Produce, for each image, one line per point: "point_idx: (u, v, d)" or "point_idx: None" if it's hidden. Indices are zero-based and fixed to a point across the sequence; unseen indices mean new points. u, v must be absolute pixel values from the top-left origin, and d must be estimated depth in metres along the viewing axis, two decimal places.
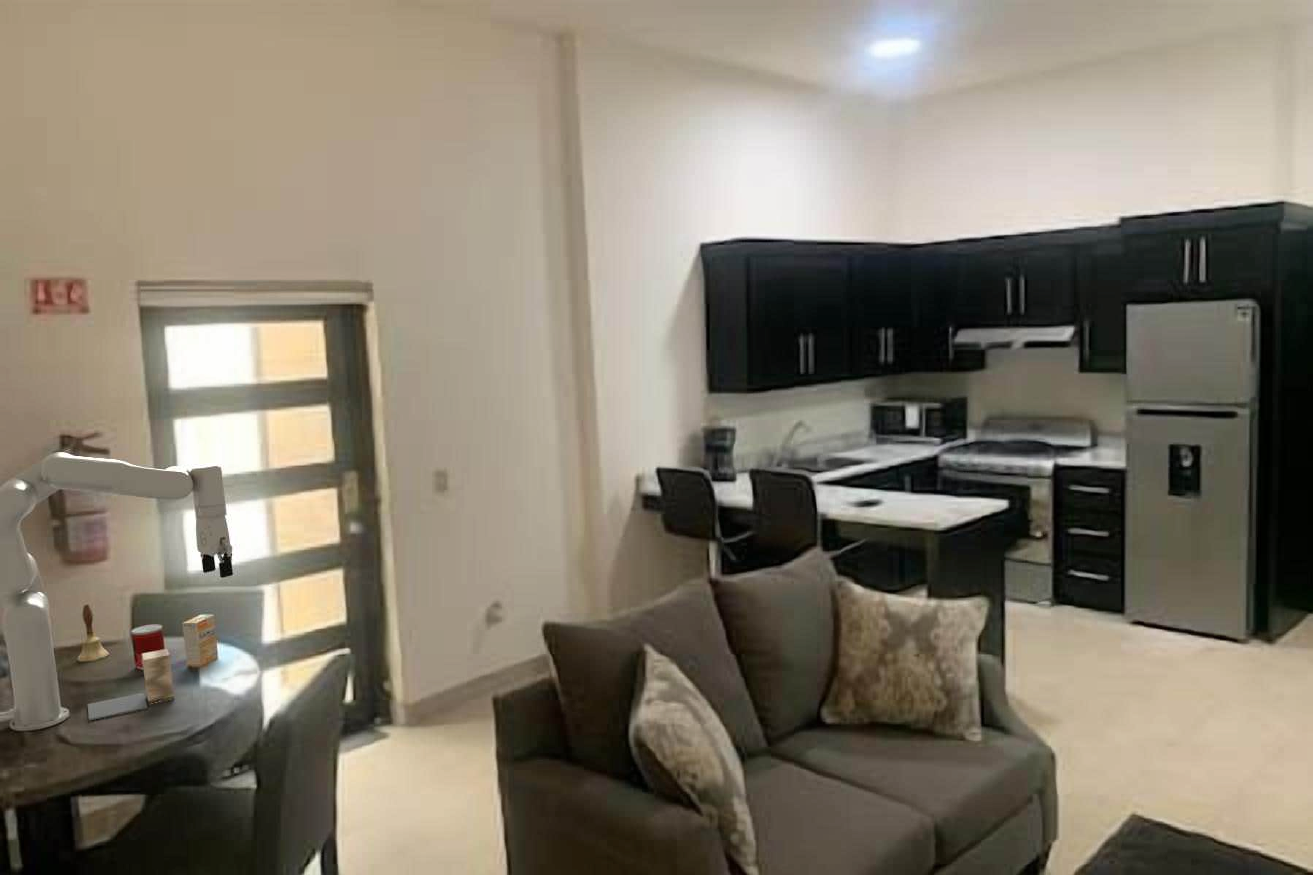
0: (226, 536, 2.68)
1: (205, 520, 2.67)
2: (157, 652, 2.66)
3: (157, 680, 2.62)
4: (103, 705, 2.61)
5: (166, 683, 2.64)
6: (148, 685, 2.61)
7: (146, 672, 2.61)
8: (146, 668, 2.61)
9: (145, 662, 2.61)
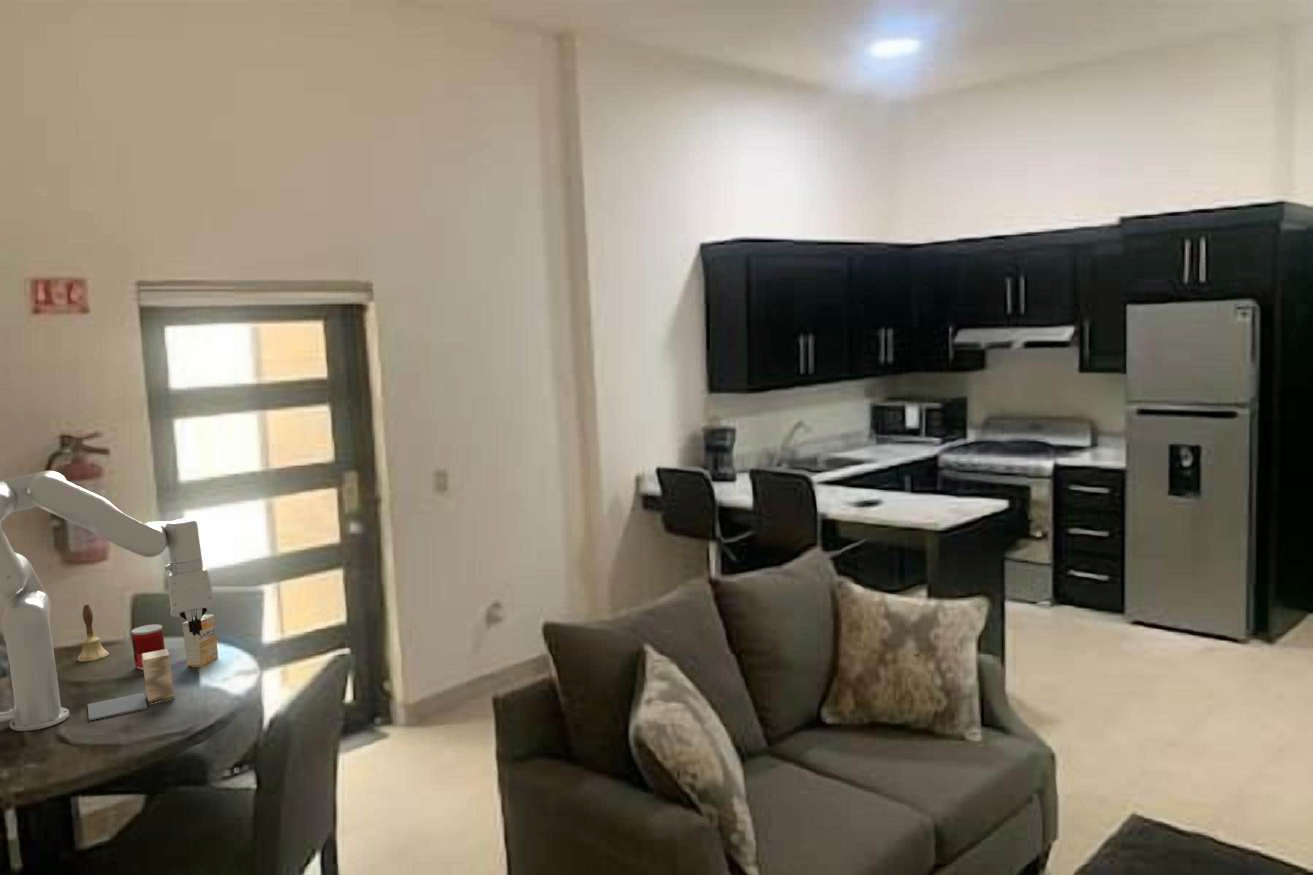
0: None
1: (197, 573, 2.65)
2: (157, 652, 2.66)
3: (157, 680, 2.62)
4: (103, 705, 2.61)
5: (166, 683, 2.64)
6: (148, 685, 2.61)
7: (146, 672, 2.61)
8: (146, 668, 2.61)
9: (145, 662, 2.61)
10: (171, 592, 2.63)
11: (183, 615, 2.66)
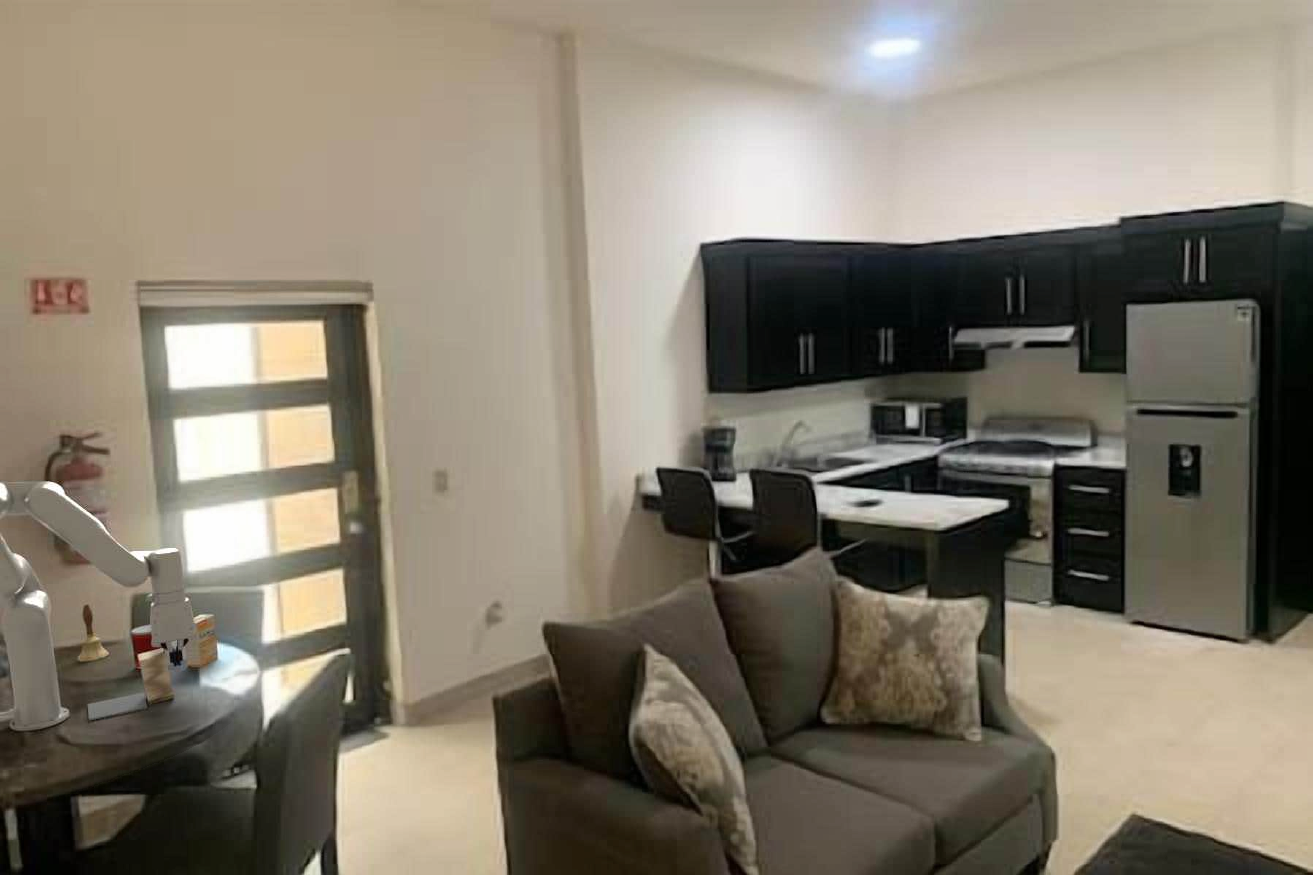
0: None
1: (179, 604, 2.64)
2: (153, 652, 2.65)
3: (155, 680, 2.62)
4: (103, 705, 2.61)
5: (164, 682, 2.63)
6: (146, 685, 2.61)
7: (143, 673, 2.61)
8: (143, 669, 2.60)
9: (141, 663, 2.60)
10: (152, 623, 2.61)
11: (164, 646, 2.65)
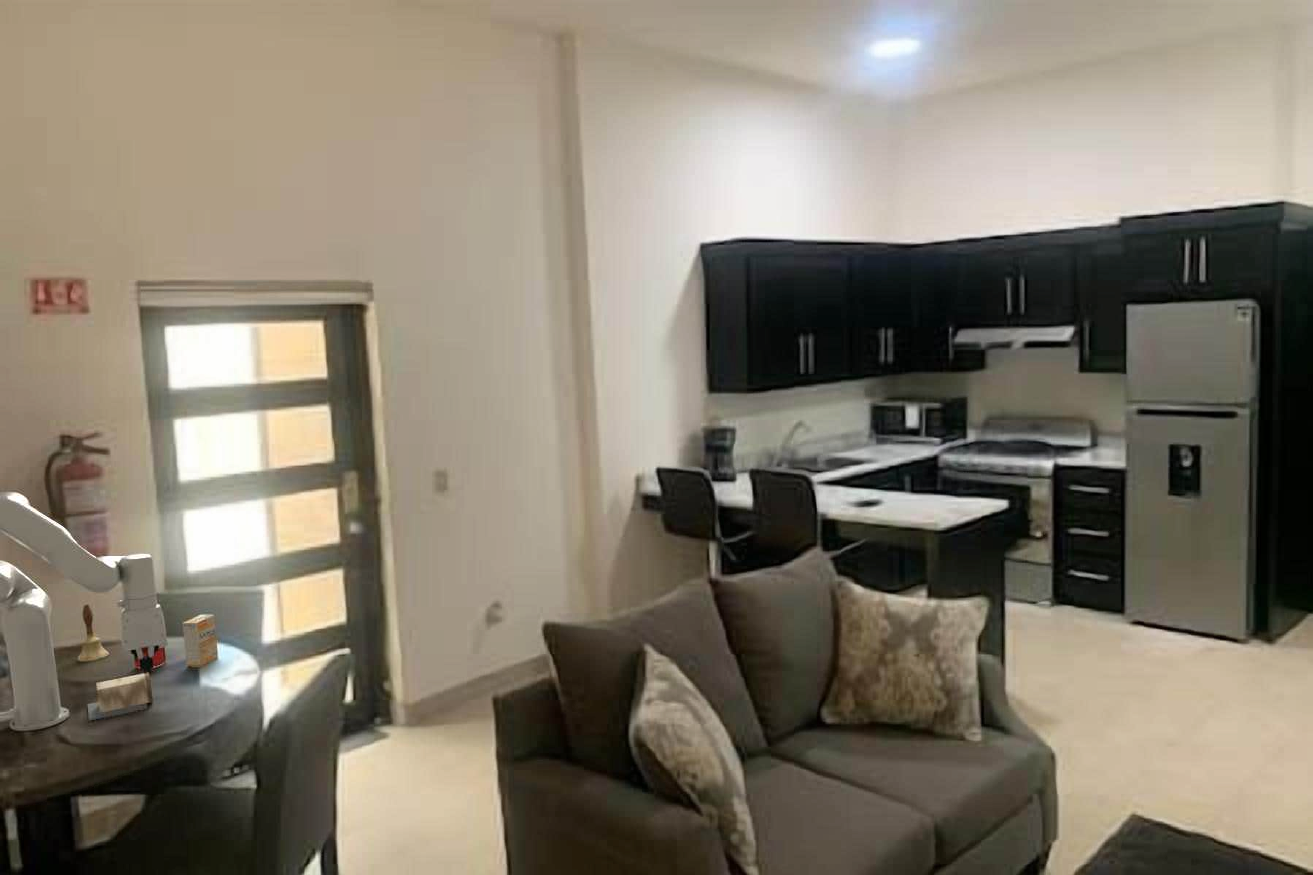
0: None
1: (150, 610, 2.61)
2: None
3: (125, 697, 2.59)
4: None
5: (130, 688, 2.59)
6: (130, 704, 2.60)
7: (115, 708, 2.58)
8: (110, 708, 2.57)
9: (103, 710, 2.57)
10: (122, 629, 2.58)
11: (134, 652, 2.61)
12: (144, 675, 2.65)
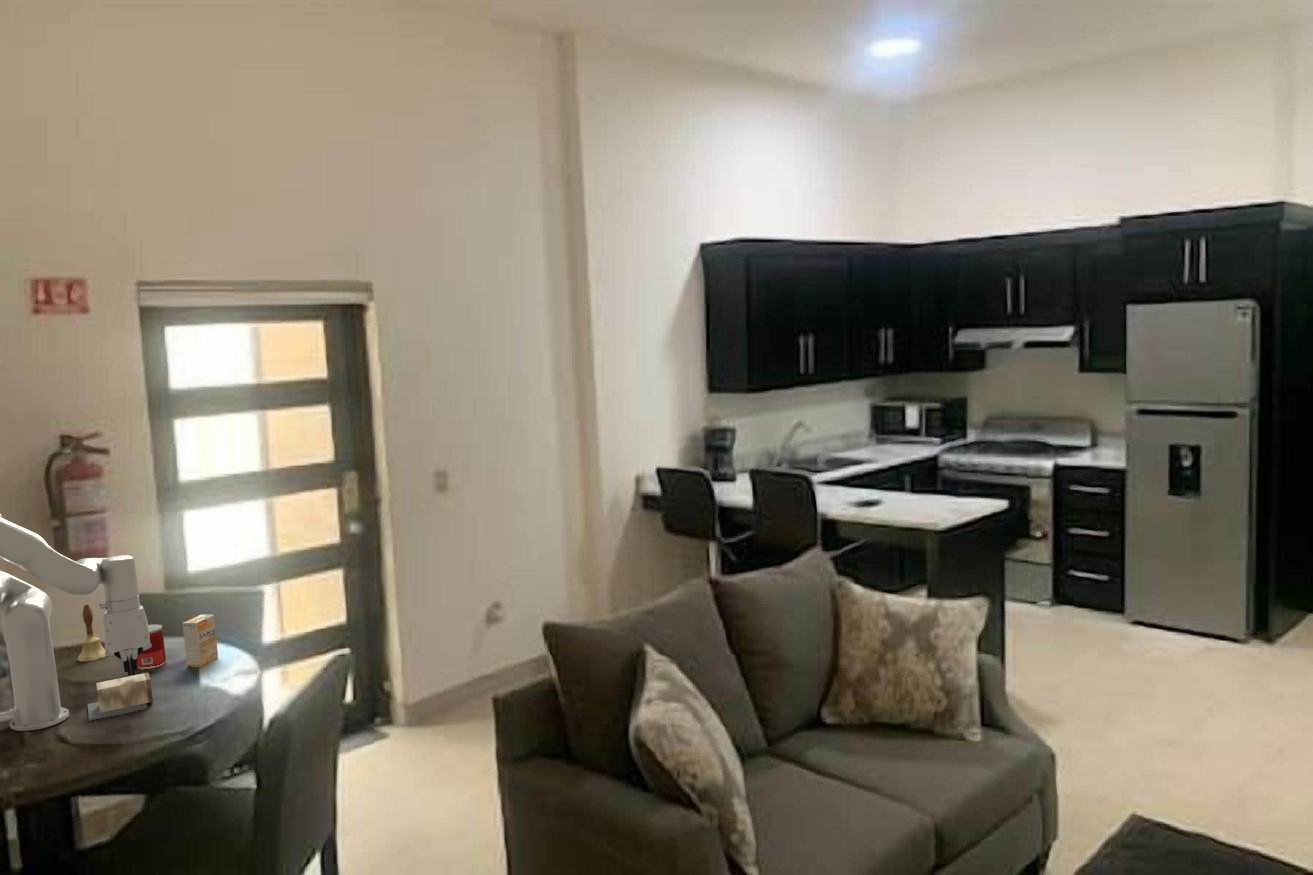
0: None
1: (133, 612, 2.59)
2: None
3: (125, 697, 2.59)
4: None
5: (130, 688, 2.59)
6: (130, 704, 2.60)
7: (115, 708, 2.58)
8: (110, 708, 2.57)
9: (103, 710, 2.57)
10: (105, 631, 2.56)
11: (118, 655, 2.59)
12: (144, 675, 2.65)
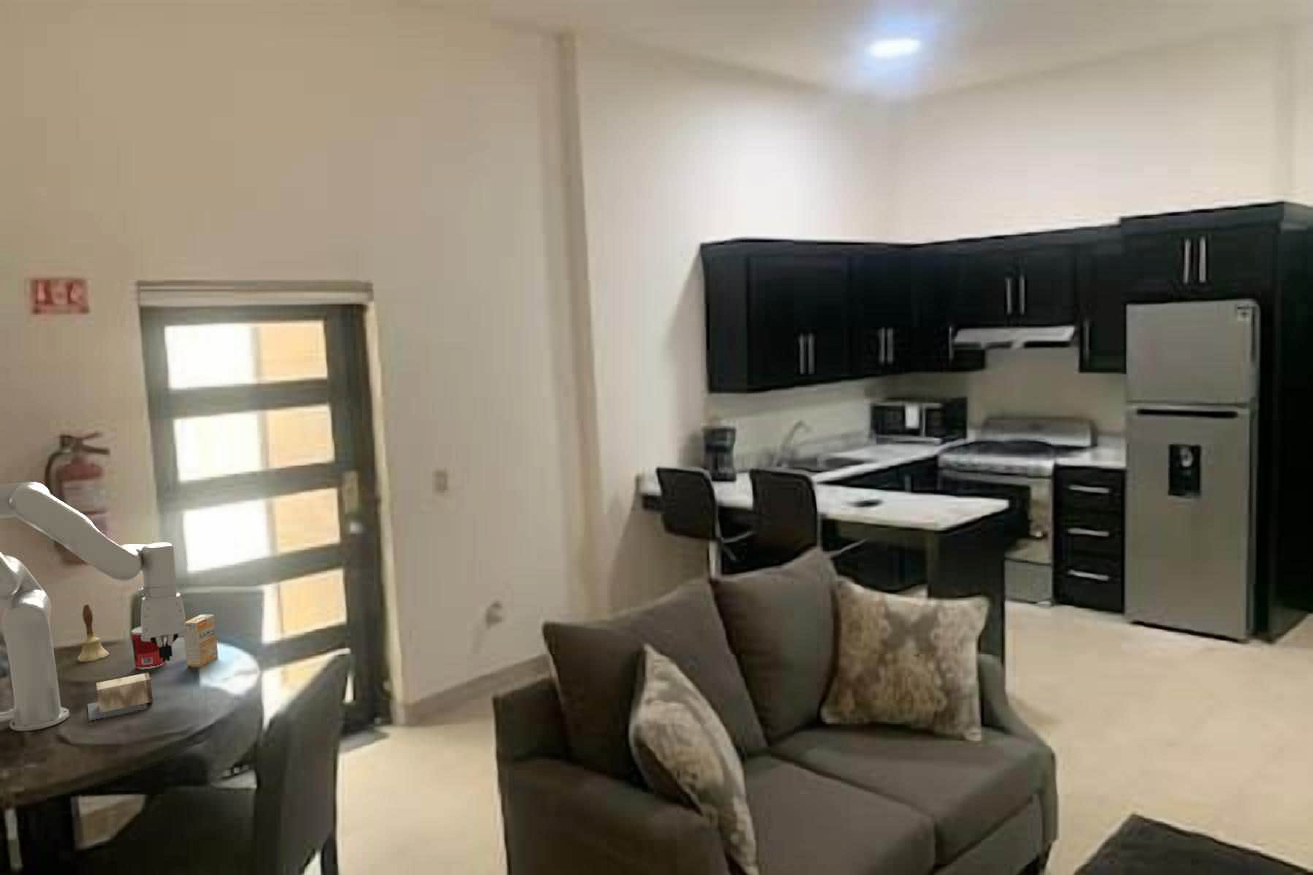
0: None
1: (170, 598, 2.63)
2: None
3: (125, 697, 2.59)
4: None
5: (130, 688, 2.59)
6: (130, 704, 2.60)
7: (115, 708, 2.58)
8: (110, 708, 2.57)
9: (103, 710, 2.57)
10: (143, 617, 2.60)
11: (154, 640, 2.63)
12: (144, 675, 2.65)
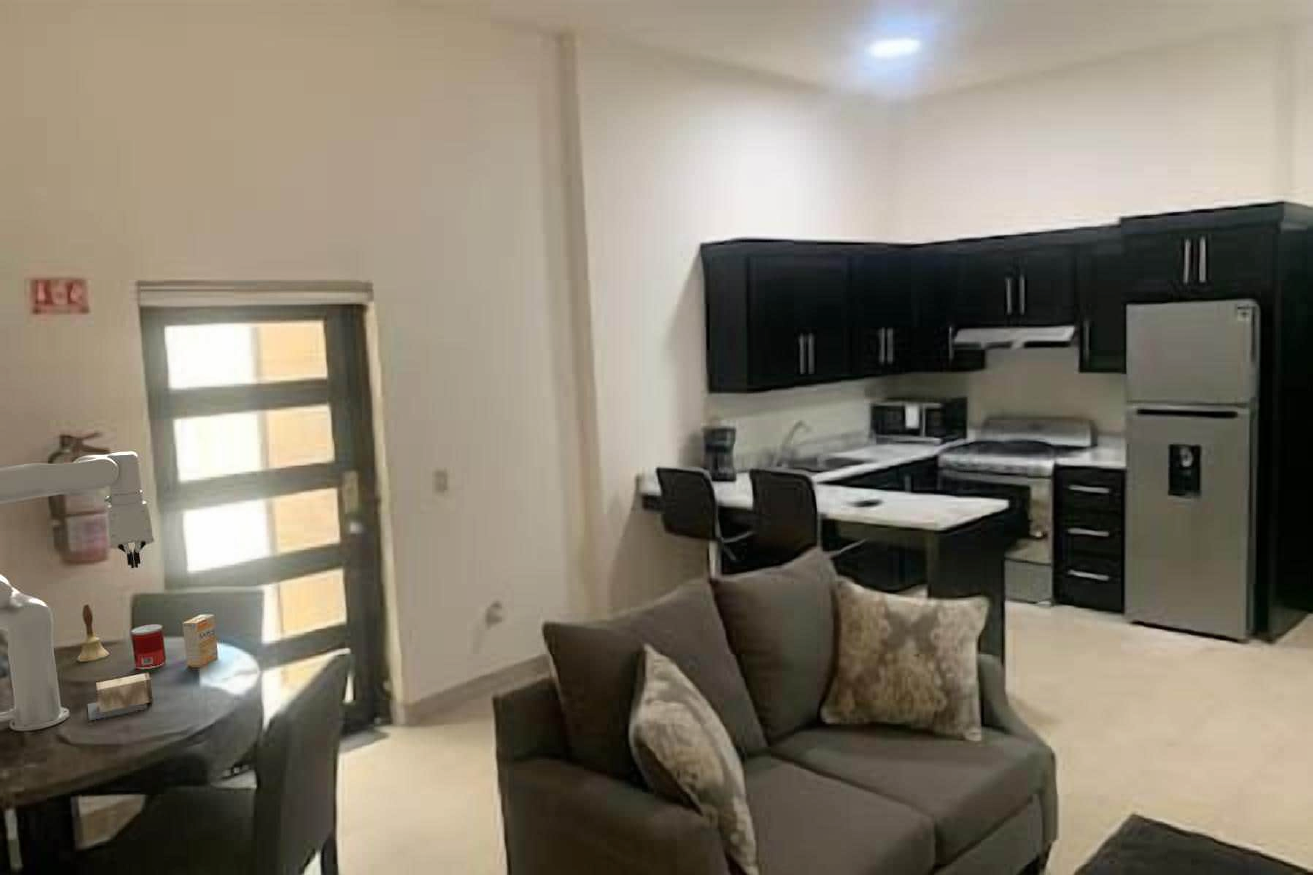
0: None
1: (136, 506, 2.68)
2: None
3: (125, 697, 2.59)
4: None
5: (130, 688, 2.59)
6: (130, 704, 2.60)
7: (115, 708, 2.58)
8: (110, 708, 2.57)
9: (103, 710, 2.57)
10: (109, 523, 2.65)
11: (121, 547, 2.68)
12: (144, 675, 2.65)
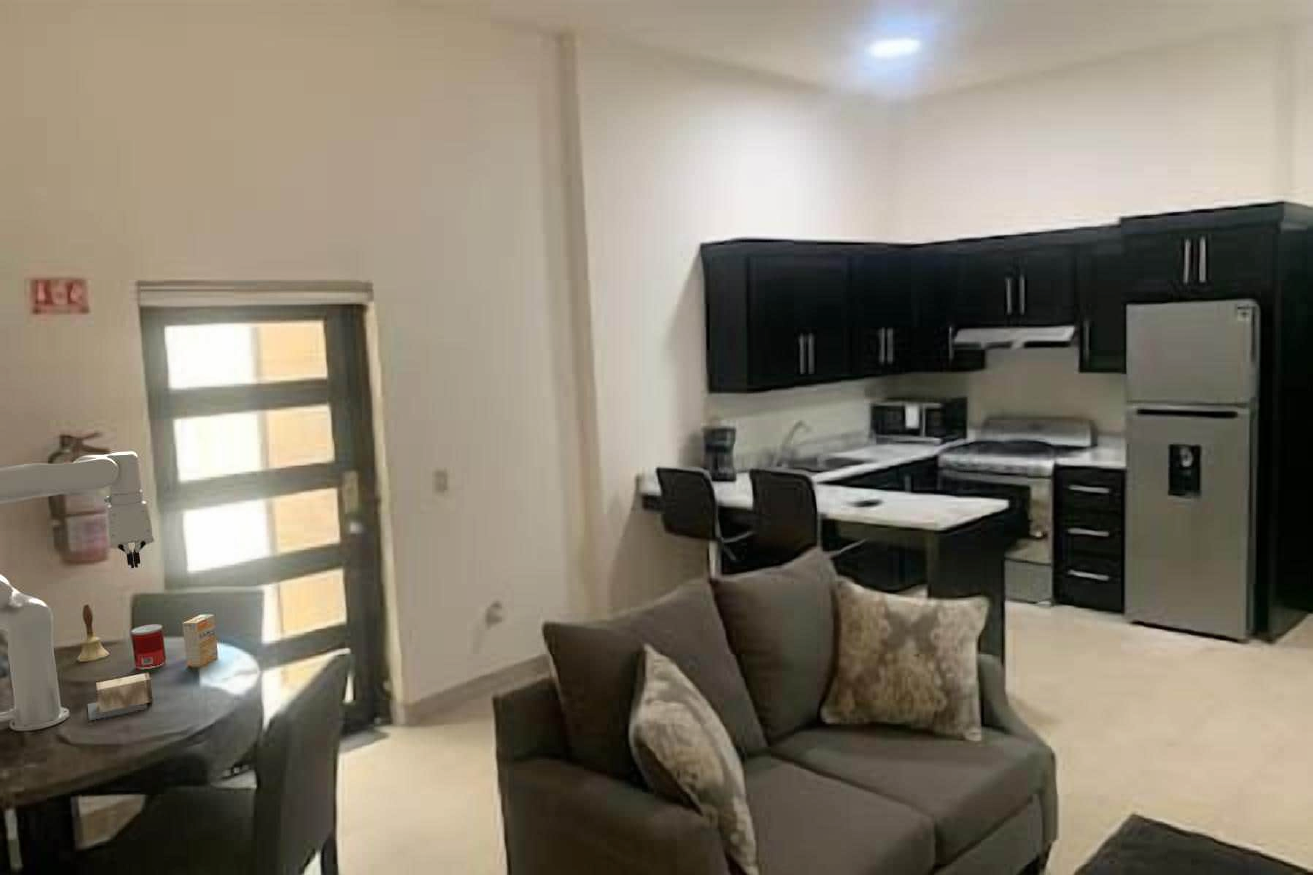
0: None
1: (136, 506, 2.68)
2: None
3: (125, 697, 2.59)
4: None
5: (130, 688, 2.59)
6: (130, 704, 2.60)
7: (115, 708, 2.58)
8: (110, 708, 2.57)
9: (103, 710, 2.57)
10: (109, 523, 2.65)
11: (121, 547, 2.68)
12: (144, 675, 2.65)
